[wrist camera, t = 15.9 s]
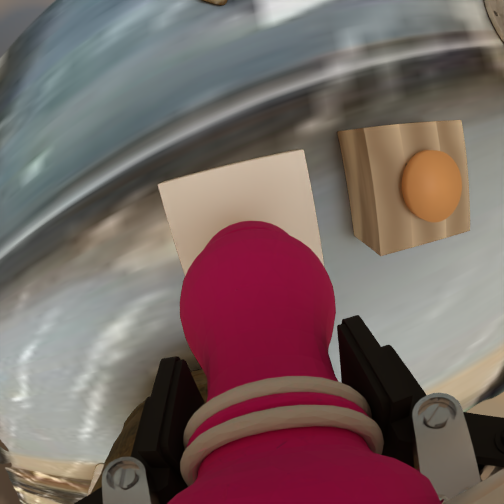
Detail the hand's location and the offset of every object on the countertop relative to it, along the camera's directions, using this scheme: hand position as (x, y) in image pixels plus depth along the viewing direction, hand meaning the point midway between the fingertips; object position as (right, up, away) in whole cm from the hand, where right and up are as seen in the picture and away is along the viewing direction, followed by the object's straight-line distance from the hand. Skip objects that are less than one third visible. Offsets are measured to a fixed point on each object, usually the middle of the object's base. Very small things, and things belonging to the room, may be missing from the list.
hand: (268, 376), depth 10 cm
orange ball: (+13, +11, +17) cm, 24 cm away
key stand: (+13, +11, +17) cm, 25 cm away
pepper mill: (-1, +3, +9) cm, 10 cm away
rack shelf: (-1, +6, +18) cm, 19 cm away
